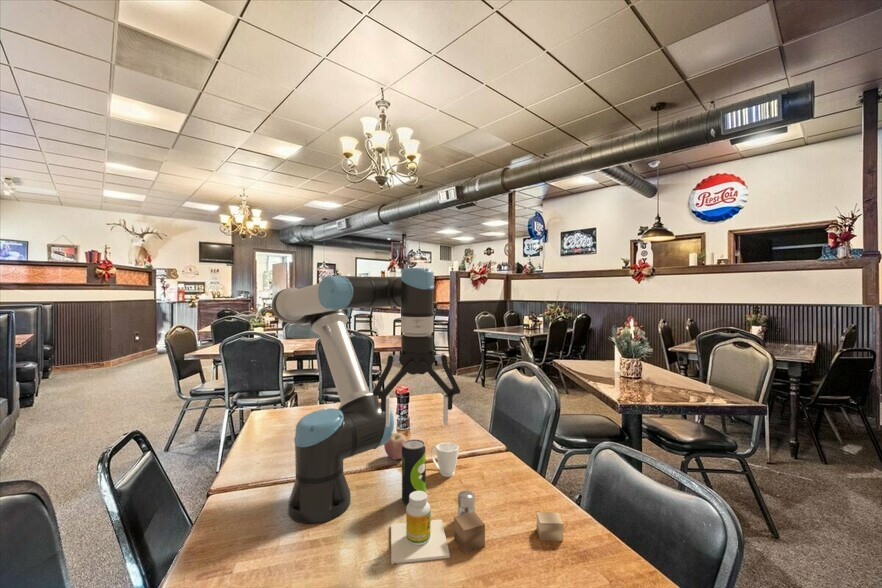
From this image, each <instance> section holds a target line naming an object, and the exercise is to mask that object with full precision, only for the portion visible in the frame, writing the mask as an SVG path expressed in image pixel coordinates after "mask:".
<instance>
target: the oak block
mask: <svg viewBox="0 0 882 588" xmlns="http://www.w3.org/2000/svg"><path fill="white" fill-rule="evenodd" d="M536 531H537V534H538V537H539V540H540V541H546V542H547V541H548V542H550V541H552V542H563V541H564V522H563V520H562V518H561V515H560V513H559V512H553V511H552V512H549V511H548V512H547V511H546V512H545V511H536Z"/></svg>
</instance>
